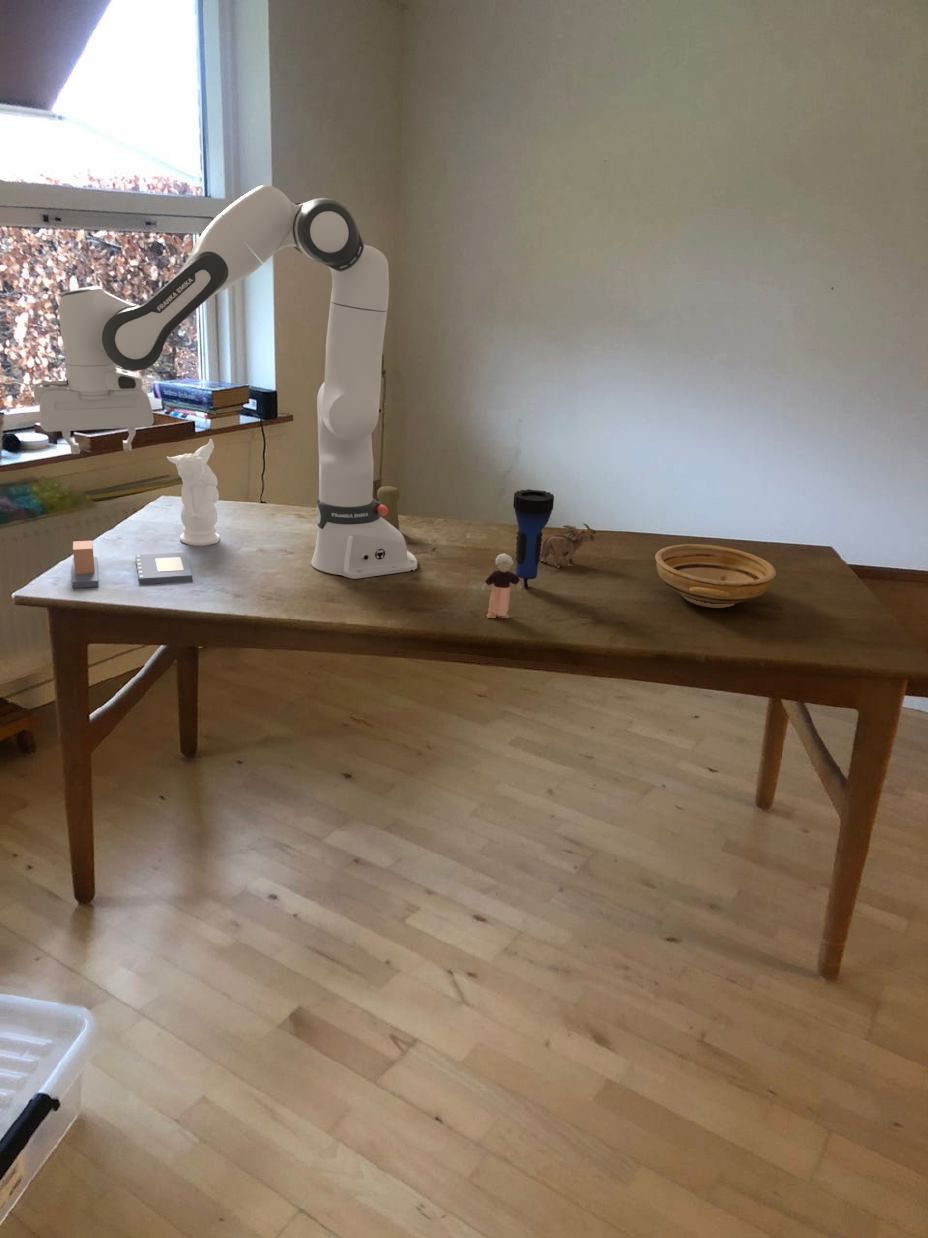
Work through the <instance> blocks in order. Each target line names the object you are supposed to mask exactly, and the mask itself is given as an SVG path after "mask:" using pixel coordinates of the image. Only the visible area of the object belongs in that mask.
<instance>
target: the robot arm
mask: <svg viewBox="0 0 928 1238" xmlns="http://www.w3.org/2000/svg"><path fill="white" fill-rule="evenodd" d="M361 236H362V235H361V234H360V232H359V229H358V225H357V223H356V220H355V218H354V216H353V214H352V213H351V212H350V210H348V208H347V207H346V206H345V205H344V204H342V203H340V202H339V201H336V200H333V199H330V198H326V197H319V198H313V199H311V200H307V201H304V202H296V203H294V202H292V201H291V200H290V199H289V198H288V196H287V195H286V194H285V193H284V192H282V191H281V190H280V189H278V188H276V187H275V186H272V185H268V184H264V185H263V184H262V185H259V186H257V187H255V188H254V189H252V190H250V191H248V192H247V193H245V194H243V195H242V196H240V197H239V198H238V199H237V200H235V201H234V202H232V203H231V204H230V205H229V206H227V207H226V208H225V209H224V210H223V211H222V212H221V213H219V214H218V215H217V216H216V217H214V219H213V220H212V221H211V222H210V223H209V225H208V226H207V227H206V228H205V229H204V230H203V232H202V233H201V235H199V237H198V239H197V240H196V242H195V243H194V245H193V247H192V249H191V251H190V253H189V255H188V258H186V261H185V262H184V264H183V266H182V267H181V268H180V270H179V271H178V272H177V274H176V275H174V277H172V278H171V279H170V280H169V281H168V282H167V283H165V285H164V286H163V287H161V288H160V289H159V290H158V291H157V292H155V294H154V295H152V297H151V298H149V299H148V300H146V301H145V303H143V304H142V305H138V304H135V303H132V302H129V301H126V300H124V299H121V298H119V297H117V296H115V295H113V294H112V293H109V292H108V291H107V290H105V289H104V288H103V287H101V286H98V285H96V286H95V285H92V286H83V287H79V288H74V289H70V290H67V292H65V293H64V294H63V295H62V296H61V297H60V299H59V304H58V305H59V306H58V314H59V319H58V320H59V327H60V335H61V340H62V343H63V345H64V349H65V358H64V366H65V372H66V379H64V378H62V379H53V380H49V379H43V380H41V381H40V382H38V383H37V384H35V386H34V387H33V396H34V400H35V402H36V403H37V404H38V405H39V422H40V428H41V429H42V430H43V431H44V432H47V433H49V432H61V435H62V438H63V439H64V441H66V443H67V444H68V445H69V446H70V454H71V455H79V454H81V453H80V446H79V442H73V440H72V439H71V431H90V430H111V429H113V430H114V429H127V433H128V437H127V438H126V440H122V447H123V452H132V450H133V449H132V448H133V447H132V442H133V440H134V438H135V436H136V433H137V432H136V431H137V430H136V428H151V426H153V424H154V422H155V421H154V418H155V417H154V414H153V409H152V404H151V401H150V398H149V395H148V393H147V391H146V390H145V388H143V385H144V380H143V377H142V375H140V374H139V373H138V372H137V371H143V370H147V369H149V368H151V367H152V366H153V365H154V364H156V362H157V361H158V360H159V359H160V357H161V355H162V352H163V349H164V347H165V344H166V342H167V339H168V338H169V336H170V335H171V334H172V333H173V331H175V330H176V328H178V327H179V326H180V325H181V324H182V323H183V322H184V321H185V320H186V319H188V318H189V316H191V314H192V313H194V312H195V311H196V310H197V309H198V308H199V307H200V306H201V305H203V304H204V303H205V302H207V301H208V300H209V299H211V298H213V297H214V296H216V295H217V294H219V293H222V292H223V291H225V290H228V289H229V288H230V287H233V286H235V285H236V284H238V283H240V282H241V281H243V280H244V279H246V278H247V277H249V276H250V275H252V274H253V273H254V272H256V271H257V270H258V269H259V268H261V266H263V264H265V263H266V262H267V261H269V259H270V258H271V257H272V256H274V255H275V254H276V253H277V252H279V251H280V250H283V249H284V248H287V247H288V248H289V247H293V248H294V249H296V250H297V251H298V252H300V253H301V254H302V255H304V256H305V257H306V258H308V259H310V260H311V261H313V262H316V263H320V264H323V265H325V266H327V267H328V268H329V270H330V273H331V281H332V282H331V284H332V285H331V286H332V287H331V295H330V303H329V313H328V321H327V329H326V330H327V331H326V342H325V361H324V362H325V363H324V364H325V365H324V367H325V368H324V382H322V384H321V385H320V387H319V389H318V392H317V396H316V397H317V398H316V405H317V407H316V408H317V409H316V410H317V440H318V442H317V443H318V458H319V460H318V462H319V463H318V464H319V468H318V471H319V473H318V474H319V475H318V476H319V477H318V478H319V479H318V481H319V483H318V484H319V485H318V486H319V487H318V488H319V489H318V490H319V492H318V495H319V496H318V498H317V500H316V501H317V502H316V514H315V515H316V524H317V536H316V543H315V546H314V547H315V548H314V553H313V556H312V559H311V561H310V564H311V566H312V567H313V568H314V569H316V570H318V571H320V572H323V573H326V574H332V575H339V576H343V577H346V578H348V579H354V580H355V579H363V578H364V579H365V578H371V577H376V576H377V577H379V576H384V575H386V576H387V575H391V574H398V573H406V572H411V570H413V571H416V570H415V569H418V560H417V558H416V556H415V555H414V554H413V553H411V552H410V551H409V550H408V547H407V542H406V539H405V537H404V534H403V533H402V532H401V531H399V530H400V529H399V530H397V529H396V528H395V527H394V526H392V525H391V524H390V523H389V522H387V521H386V520H385V519H383V518H382V517H381V516H385V515H387V513H388V508H387V507H386V506H385V505H382V504H381V503H380V502H379V500H376V499H375V498H373V494H374V493H373V491H374V456H373V439H372V433H373V432H374V431H375V429H376V426H377V424H378V422H379V414H380V413H379V412H380V403H381V389H382V388H381V387H382V368H383V367H382V366H383V365H382V364H383V362H382V361H383V349H384V339H385V334H386V333H385V332H386V324H387V316H388V309H389V298H390V296H389V295H390V273H389V270H390V269H389V262H388V259H387V257H386V255H385V254H384V253H383V252H381V251H380V250H379V249H377V248H375V247H373V246H371V245H367V244H364V242H363V239H362V237H361ZM117 366H118V367H117Z"/></svg>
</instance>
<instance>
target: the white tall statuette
mask: <svg viewBox="0 0 928 1238" xmlns="http://www.w3.org/2000/svg"><path fill="white" fill-rule="evenodd" d="M214 444H215V443H214V441H213V439H212V438H209V441H208V443H207V444H206V445H205V444H204V445H203V446H201V447H199V448H198V449H196V451H195V452H194V453H184V454H179V455H175V456H171V457H170V456H166V458H167V460H168V461H169V462H171V463H172V464H175V466H176V471H177V472H178V473H177V475H178V476H179V477H180V478H181V482H182V487H181V502H182V504H183V505H182V507H181V510H180V511H181V512H180V520H181V522H182V524H183V529H182V531H183V533H181V534H180V536H179V538H180V539H179V540H180V542H182V543H184V544H186V545H189V546H195V547H197V546H198V547H201V546H202V547H203V546H204V547H205V546H211V545H213V544H217V543H219V542H220V538H221V537H220V535H219V533H217V528H216V526H217V525H216V524H217V522H218V511H217V508H216V505H215V503H217V502H218V501H219V497H220V493H219V490H218V488H217V486H218V485H219V484H218V478H217V476H216V474H215V473H214V472H213V470H212V469H211V467H210V466H209V464H207V463H208V461H209V460H210V455H211V454H212V453H213V451H214V448H215V445H214ZM218 541H219V542H218Z"/></svg>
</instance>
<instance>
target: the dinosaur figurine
mask: <svg viewBox="0 0 928 1238" xmlns="http://www.w3.org/2000/svg"><path fill="white" fill-rule="evenodd" d="M583 525H584V526H585V528H586V529H581V530H579V529H577V528H576V525H575V526H572V525H569V524H567V525H563V526H562V527H563V528H565V529H568V530H566V531H564V534H565V533H570V534H569V535H568V536H566V535H564V534H555V535H551V536H549V537H547V538H545V541H544V542H543V543H542V546H541V552H540V553H541V554H540V557H539V558H540V562H541V561H547V557H548V556H549V555H551V556H553V558H552V560H551V562H552V563H553V565H557V566H558V565H559V563H558V561H559V559H560V557H562V558H564V561H565V563H566V565H567V564H570V559H569V558H572V556H574V555H575V554H576V552H577V551H578V550H580V548H581V547H582V546H583V544H584V543H587V542H588V541H589V542H594V541H595V535H597V532H596V530H594V529H593V528H591V527H590V526H589V525H588V524H586V523H583ZM571 536H572V538H575V539H572V538H570V537H571ZM570 565H571V564H570Z"/></svg>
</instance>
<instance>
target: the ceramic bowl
mask: <svg viewBox="0 0 928 1238" xmlns="http://www.w3.org/2000/svg"><path fill="white" fill-rule="evenodd" d="M654 559H655V561H656V565H655V566H656V570H657V573H658V575H659V577H660V579H661V580H662V582H663V583H664V585H665V586H667V587H668V588H670V589H671V590H673V591H674V592H676V593H678V594H680V595H681V596H682V595H684V596H686V597H688V598H690V599H693V600H696V601H700V602H704V603H710V604H733V603H736V604H737V603H743V602H748V601H752V600H754V599H756V598H758V597H760V596H761V595H763V594H764V593H765V592H766V591H767V590H768V589H769V587H770V585H771V583H772V582H773V579H774V578H775V577H776V574H777V571H776V569H775V567H774V566H773V564H771V563H770V562H769V561H767V560H765V559H763V558H762V557H759V556H756V555H755V554H753V553H749V552H745V551H743V550H739V549H735V548H730V547H726V546H720V545H712V544H698V543H696V544H694V543H688V544H687V543H686V544H676V545H671V546H666V547H664V548H662V549H660V550H658V551H657V552H656V553H655V556H654Z"/></svg>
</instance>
